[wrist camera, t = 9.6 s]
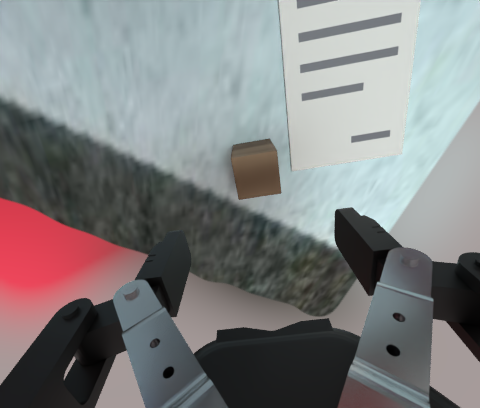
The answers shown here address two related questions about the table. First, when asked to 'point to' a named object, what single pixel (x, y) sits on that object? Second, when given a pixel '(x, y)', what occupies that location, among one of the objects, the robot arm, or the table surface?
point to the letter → (346, 77)
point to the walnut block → (256, 169)
